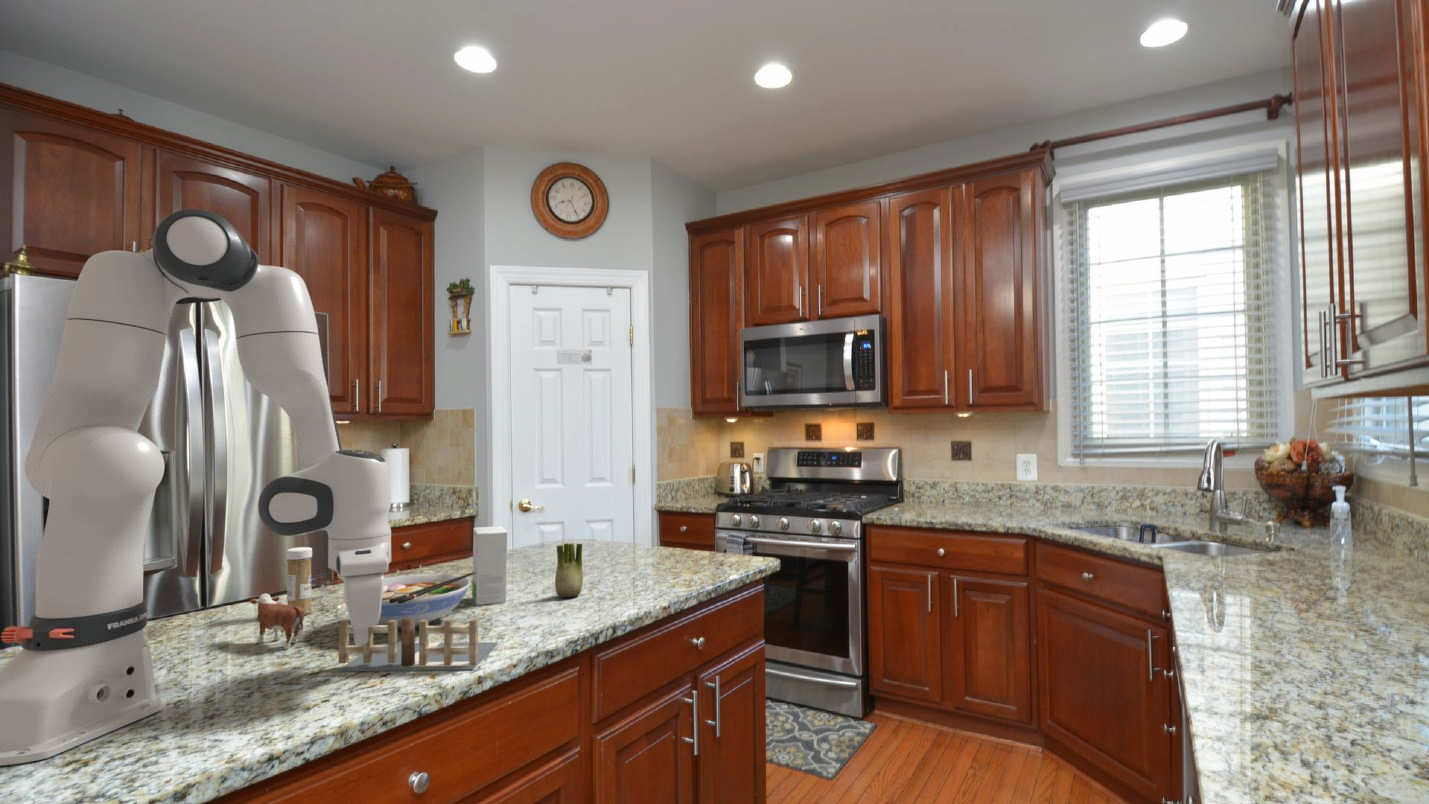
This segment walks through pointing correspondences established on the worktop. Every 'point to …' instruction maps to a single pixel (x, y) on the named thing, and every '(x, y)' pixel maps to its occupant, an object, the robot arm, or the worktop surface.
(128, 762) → the worktop surface
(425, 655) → the fixed fence panel
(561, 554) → the fennel bulb
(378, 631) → the gate panel
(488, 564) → the skincare box
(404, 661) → the corner post
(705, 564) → the worktop surface
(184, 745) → the worktop surface
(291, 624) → the bull figurine
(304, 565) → the spice jar
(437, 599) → the ramen bowl
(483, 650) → the card
